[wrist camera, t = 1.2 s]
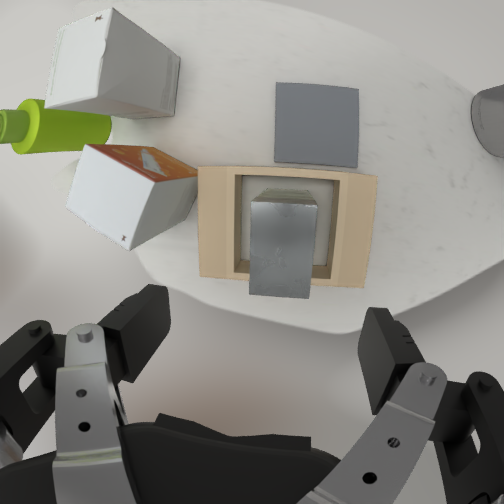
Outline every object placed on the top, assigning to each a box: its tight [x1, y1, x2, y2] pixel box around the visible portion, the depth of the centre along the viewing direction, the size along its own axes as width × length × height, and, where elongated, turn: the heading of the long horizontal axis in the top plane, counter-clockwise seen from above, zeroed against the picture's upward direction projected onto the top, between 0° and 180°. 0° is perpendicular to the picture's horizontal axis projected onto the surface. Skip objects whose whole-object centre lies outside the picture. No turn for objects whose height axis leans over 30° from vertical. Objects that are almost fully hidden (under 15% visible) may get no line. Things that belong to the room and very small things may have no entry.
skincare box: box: [44, 7, 180, 119], centre depth 22 cm, size 8×7×16 cm
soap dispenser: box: [0, 99, 111, 154], centre depth 22 cm, size 6×7×20 cm
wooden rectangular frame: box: [198, 166, 378, 288], centre depth 30 cm, size 18×12×4 cm, turn 89°
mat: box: [274, 82, 359, 168], centre depth 28 cm, size 9×9×1 cm
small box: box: [65, 144, 198, 251], centre depth 26 cm, size 8×6×13 cm
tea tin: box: [249, 188, 318, 299], centre depth 26 cm, size 5×7×12 cm, turn 179°
